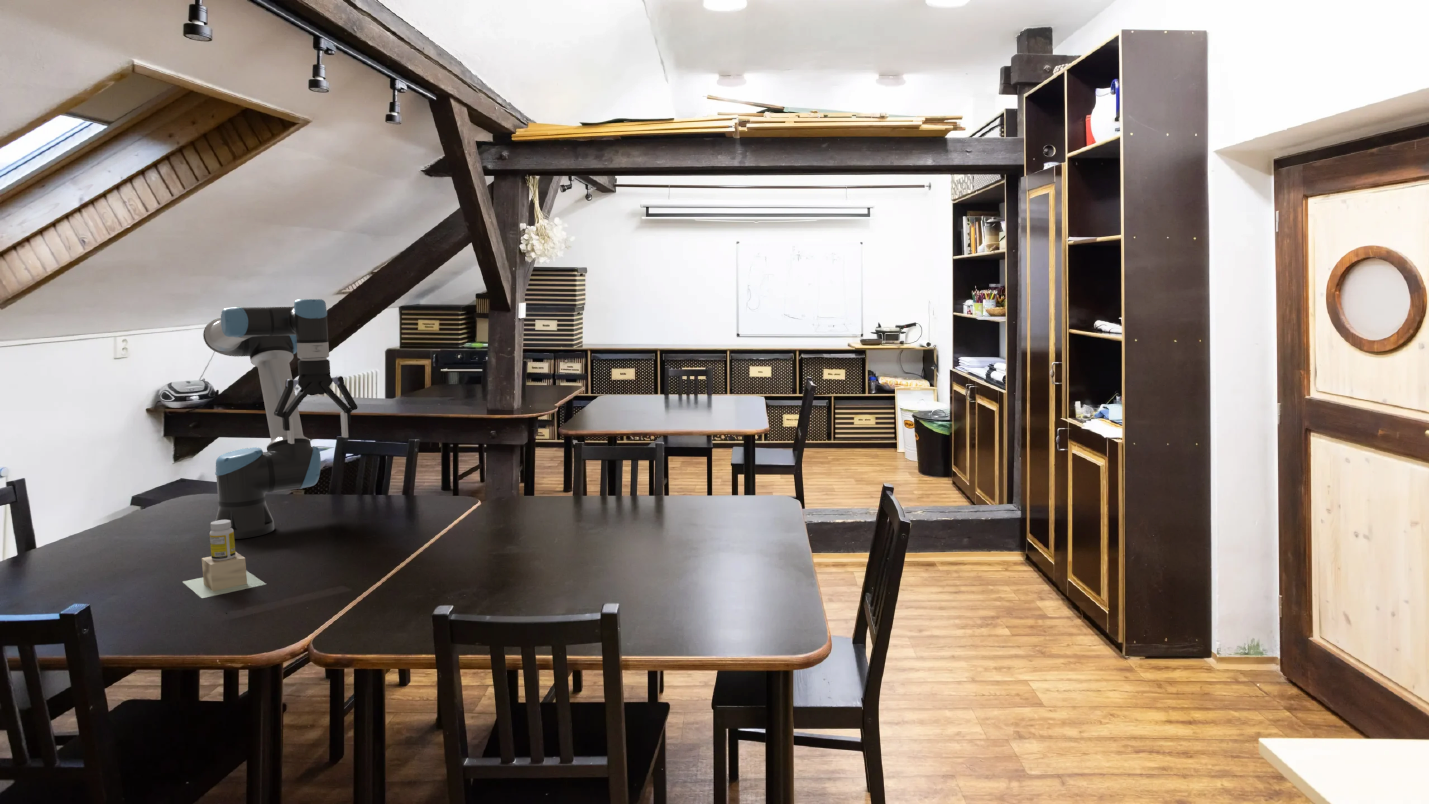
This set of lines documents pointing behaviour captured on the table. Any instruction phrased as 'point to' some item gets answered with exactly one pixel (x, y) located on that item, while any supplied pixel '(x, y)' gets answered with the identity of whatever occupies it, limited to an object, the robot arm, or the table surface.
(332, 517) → the table surface
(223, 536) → the supplement bottle
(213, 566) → the beech block
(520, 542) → the table surface
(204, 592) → the board
